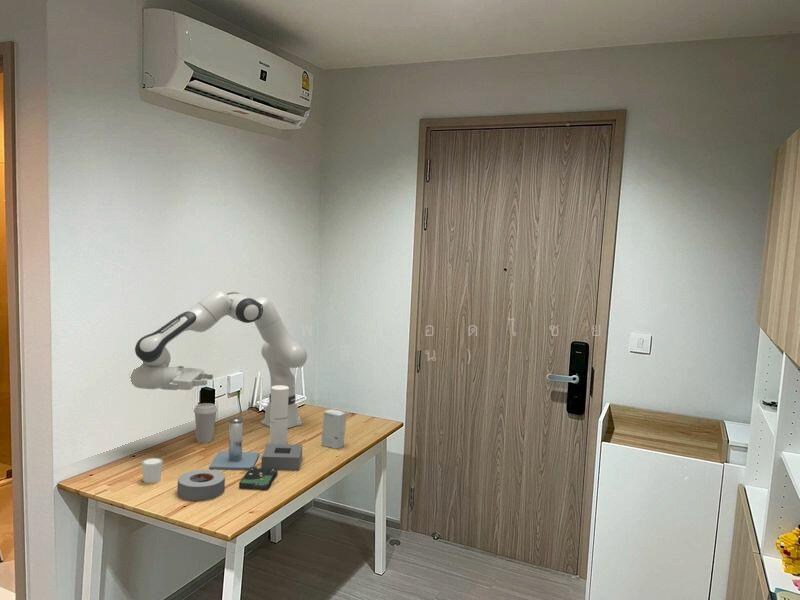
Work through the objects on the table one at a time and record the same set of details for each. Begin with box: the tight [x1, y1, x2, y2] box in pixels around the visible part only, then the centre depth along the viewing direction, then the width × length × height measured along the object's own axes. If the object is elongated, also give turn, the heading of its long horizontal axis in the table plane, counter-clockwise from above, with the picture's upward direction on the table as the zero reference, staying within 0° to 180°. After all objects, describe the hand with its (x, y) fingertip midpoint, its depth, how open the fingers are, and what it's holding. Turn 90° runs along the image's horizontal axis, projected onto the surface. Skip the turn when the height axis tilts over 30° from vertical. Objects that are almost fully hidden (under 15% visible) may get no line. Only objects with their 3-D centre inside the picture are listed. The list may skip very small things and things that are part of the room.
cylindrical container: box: [268, 385, 289, 444], centre depth 249 cm, size 7×7×25 cm
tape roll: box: [176, 468, 226, 502], centre depth 203 cm, size 15×15×5 cm
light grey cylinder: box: [141, 457, 164, 484], centre depth 209 cm, size 7×7×7 cm
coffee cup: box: [193, 402, 218, 444], centre depth 251 cm, size 10×10×15 cm
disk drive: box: [238, 466, 279, 491], centre depth 214 cm, size 10×3×15 cm
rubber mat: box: [208, 451, 260, 471], centre depth 231 cm, size 16×16×1 cm
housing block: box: [260, 443, 303, 471], centre depth 232 cm, size 14×14×5 cm
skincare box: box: [320, 409, 348, 450], centre depth 254 cm, size 8×6×15 cm
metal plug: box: [228, 416, 244, 462], centre depth 230 cm, size 5×5×16 cm
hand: (209, 379), depth 235 cm, fingers open, 8 cm apart
